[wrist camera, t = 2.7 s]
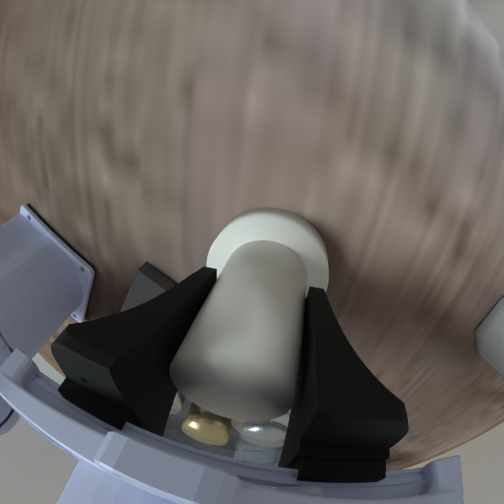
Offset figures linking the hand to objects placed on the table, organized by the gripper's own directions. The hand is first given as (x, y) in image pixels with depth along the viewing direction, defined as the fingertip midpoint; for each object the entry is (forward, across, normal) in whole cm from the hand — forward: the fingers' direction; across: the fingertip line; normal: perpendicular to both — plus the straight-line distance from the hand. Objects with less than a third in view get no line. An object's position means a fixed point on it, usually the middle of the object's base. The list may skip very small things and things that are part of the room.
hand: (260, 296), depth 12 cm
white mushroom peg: (+3, 0, 0) cm, 3 cm away
